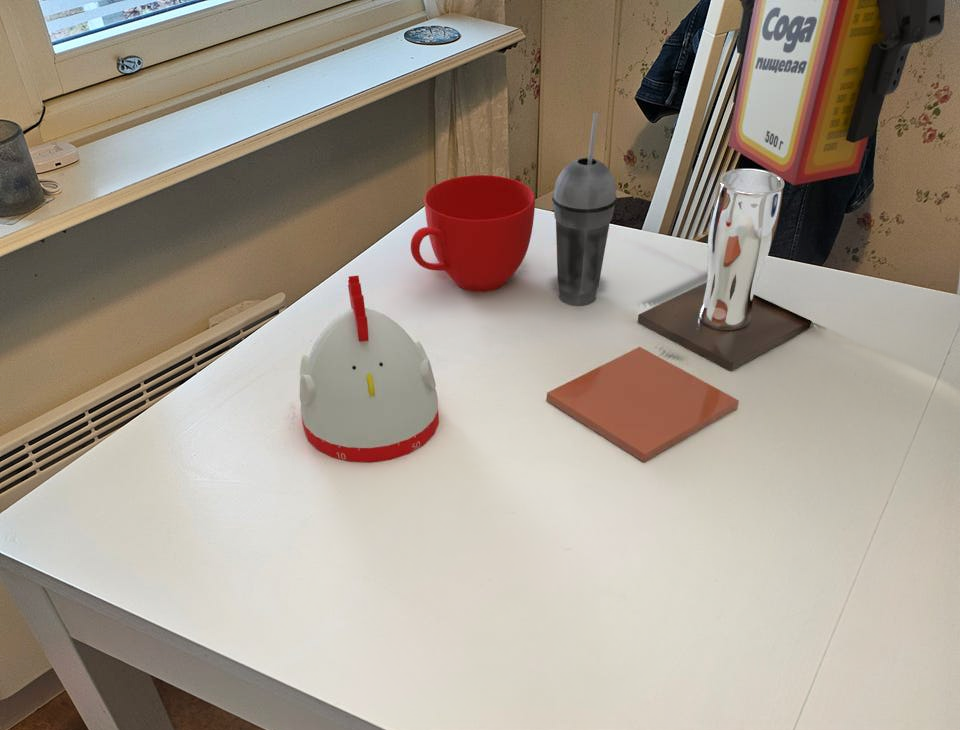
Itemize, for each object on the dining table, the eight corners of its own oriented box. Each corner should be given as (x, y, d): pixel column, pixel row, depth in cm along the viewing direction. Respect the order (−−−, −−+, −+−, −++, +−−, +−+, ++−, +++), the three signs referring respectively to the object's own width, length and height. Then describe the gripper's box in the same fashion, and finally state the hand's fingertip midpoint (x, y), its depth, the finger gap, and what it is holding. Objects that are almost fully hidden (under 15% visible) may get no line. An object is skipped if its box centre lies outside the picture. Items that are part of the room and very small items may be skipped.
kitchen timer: (309, 470, 87) (281, 327, 76) (298, 392, 96) (272, 254, 85) (450, 451, 89) (443, 307, 77) (427, 376, 98) (418, 238, 86)
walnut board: (810, 328, 103) (812, 320, 103) (731, 371, 98) (732, 363, 97) (716, 284, 111) (717, 276, 110) (637, 322, 105) (638, 314, 104)
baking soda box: (727, 145, 79) (771, -86, 67) (789, 134, 81) (841, -93, 69) (793, 185, 73) (853, -60, 61) (858, 172, 75) (928, -69, 63)
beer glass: (695, 299, 106) (718, 165, 95) (755, 305, 105) (786, 169, 94) (692, 329, 102) (716, 191, 90) (755, 335, 101) (787, 196, 89)
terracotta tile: (737, 408, 93) (739, 400, 92) (643, 462, 87) (645, 454, 86) (638, 354, 100) (639, 346, 99) (545, 400, 94) (546, 392, 94)
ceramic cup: (383, 289, 111) (375, 206, 103) (483, 246, 118) (482, 165, 111) (452, 328, 104) (449, 242, 97) (554, 279, 112) (558, 196, 105)
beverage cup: (535, 300, 109) (542, 118, 94) (567, 276, 112) (578, 98, 98) (588, 317, 106) (603, 132, 91) (618, 292, 110) (637, 111, 95)
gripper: (714, -263, 63) (666, 91, 79) (1031, -241, 51) (897, 171, 67) (781, -268, 66) (722, 74, 82) (1095, -248, 54) (952, 147, 70)
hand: (800, 118), depth 75 cm, fingers closed on baking soda box, 11 cm apart
